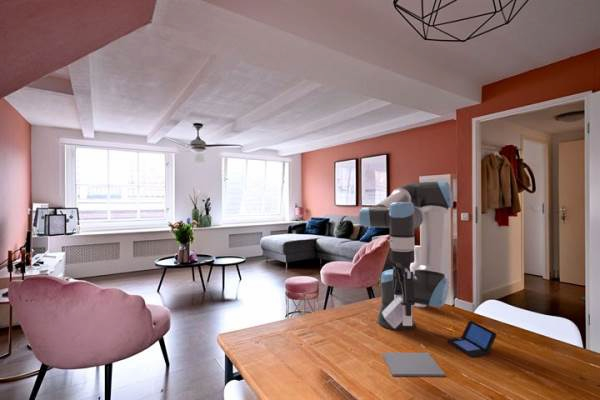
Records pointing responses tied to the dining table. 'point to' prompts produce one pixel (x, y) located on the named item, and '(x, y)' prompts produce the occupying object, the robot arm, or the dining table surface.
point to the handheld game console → (474, 340)
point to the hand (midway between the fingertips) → (403, 319)
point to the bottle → (415, 266)
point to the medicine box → (394, 312)
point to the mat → (412, 364)
